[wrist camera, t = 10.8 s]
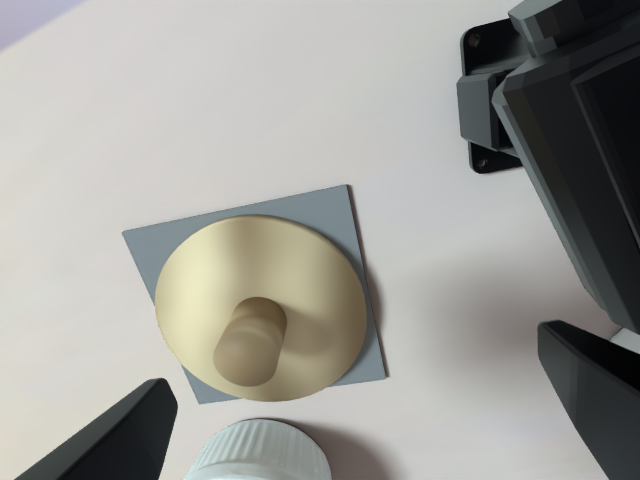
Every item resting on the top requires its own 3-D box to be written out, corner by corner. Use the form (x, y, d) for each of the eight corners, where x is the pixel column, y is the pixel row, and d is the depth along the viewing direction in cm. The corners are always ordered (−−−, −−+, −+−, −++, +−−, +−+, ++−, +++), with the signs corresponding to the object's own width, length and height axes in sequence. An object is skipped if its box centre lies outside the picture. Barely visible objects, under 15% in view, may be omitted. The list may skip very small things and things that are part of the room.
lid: (342, 192, 19) (341, 220, 15) (381, 375, 23) (390, 437, 19) (129, 237, 21) (76, 274, 17) (203, 401, 25) (175, 462, 21)
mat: (346, 184, 19) (346, 185, 19) (385, 375, 24) (385, 379, 24) (124, 230, 21) (121, 232, 21) (200, 401, 26) (198, 404, 25)
